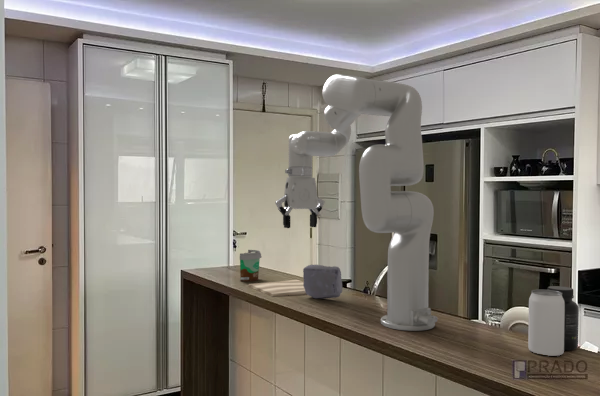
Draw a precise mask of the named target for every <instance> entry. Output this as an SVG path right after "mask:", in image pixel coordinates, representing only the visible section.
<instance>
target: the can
mask: <svg viewBox="0 0 600 396" xmlns="http://www.w3.org/2000/svg"><path fill="white" fill-rule="evenodd" d="M564 315H565V303H564V299H563V297H562V293H561V292H558V291H553V290H548V289H532V290H531V294H530V296H529V298H528V328H527V329H528V333H527V334H528V335H527V337H528V338H527V339H528V340H527V341H528V343H527V347H528V350H529V351H530V353H532V352H533V353H532V354H534V353H537V354H543V355H548V356H547V357H549V356H557V357H560V355H561V356H562V355H563V354H564V353H565V352H564V351H565V350H564ZM537 354H536V355H537Z"/></svg>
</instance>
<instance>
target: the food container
mask: <svg viewBox="0 0 600 396" xmlns="http://www.w3.org/2000/svg"><path fill="white" fill-rule="evenodd" d="M261 258H262V253H261V251H260V250H256V249H248V251H247V252H244V253H239V269H240V272H239V274H240V282H256V281H258V280H259V271H260V260H261Z"/></svg>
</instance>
